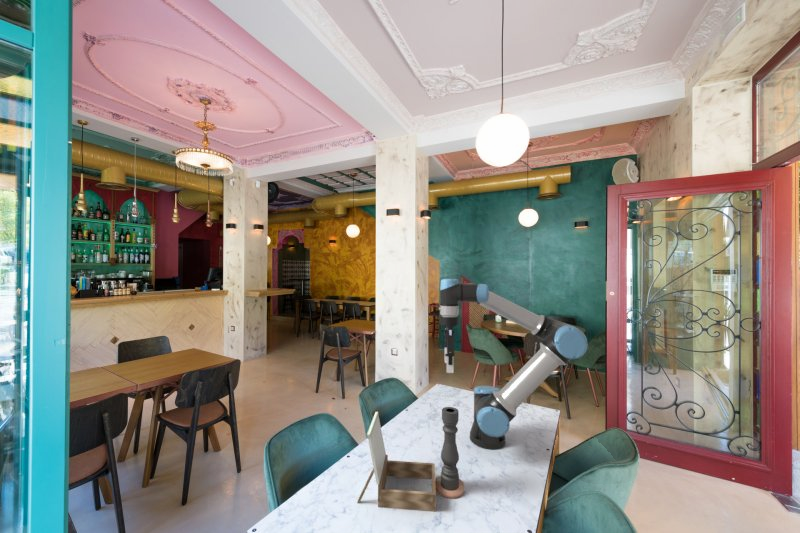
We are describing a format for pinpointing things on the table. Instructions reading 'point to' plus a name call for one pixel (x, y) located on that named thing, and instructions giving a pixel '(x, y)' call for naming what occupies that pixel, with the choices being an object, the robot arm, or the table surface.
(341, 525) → the table surface
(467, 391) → the table surface
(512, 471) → the table surface
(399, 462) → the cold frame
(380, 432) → the frame lid
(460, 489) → the saucer
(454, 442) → the candle holder
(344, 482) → the table surface
